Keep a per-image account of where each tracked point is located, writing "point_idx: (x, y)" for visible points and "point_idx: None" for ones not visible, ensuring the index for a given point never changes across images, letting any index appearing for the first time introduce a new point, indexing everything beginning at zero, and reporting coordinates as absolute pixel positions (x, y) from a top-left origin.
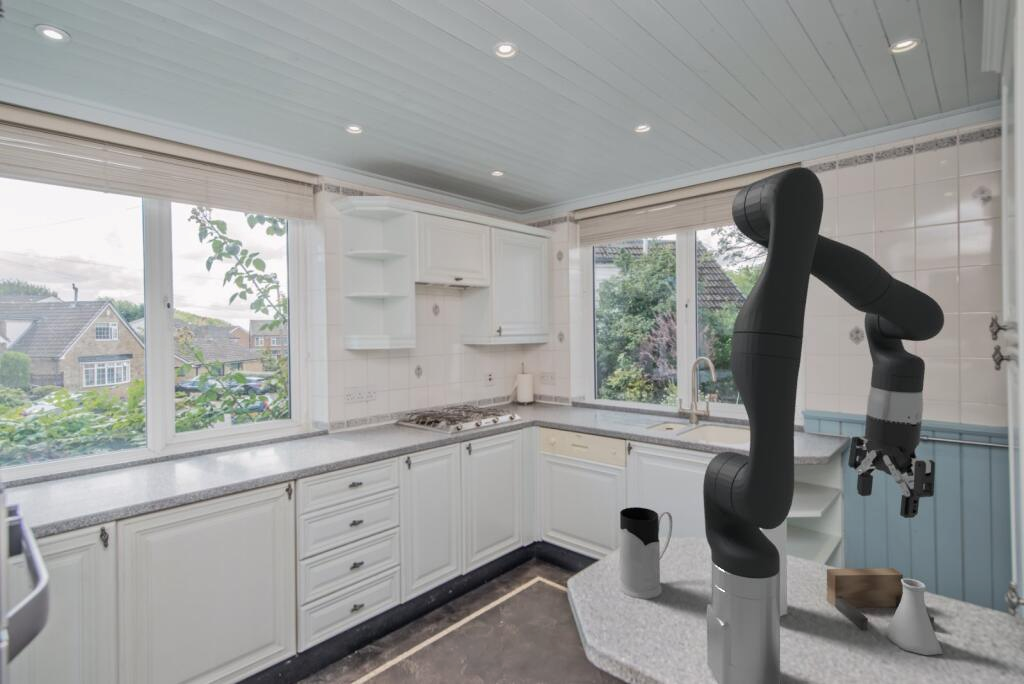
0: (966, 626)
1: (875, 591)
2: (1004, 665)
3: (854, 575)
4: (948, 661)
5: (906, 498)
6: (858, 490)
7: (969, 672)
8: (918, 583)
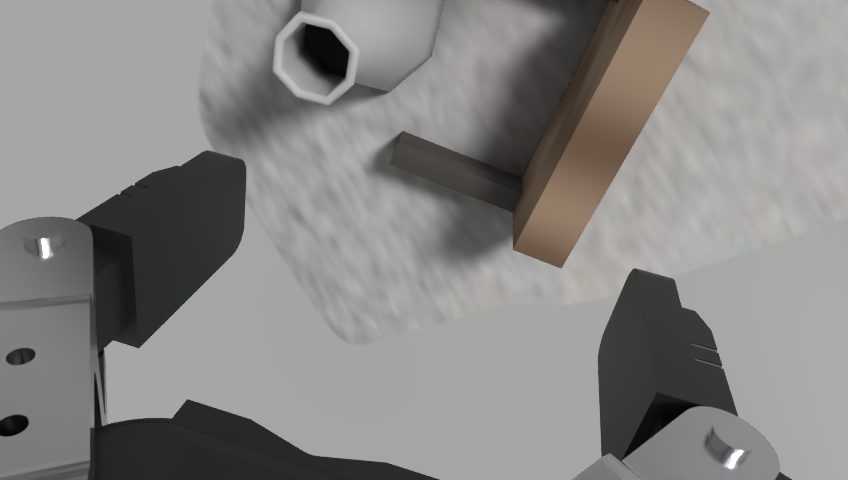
0: (375, 245)
1: (556, 134)
2: (227, 139)
3: (603, 75)
4: (273, 15)
5: (101, 222)
6: (670, 289)
7: (223, 15)
8: (317, 91)
